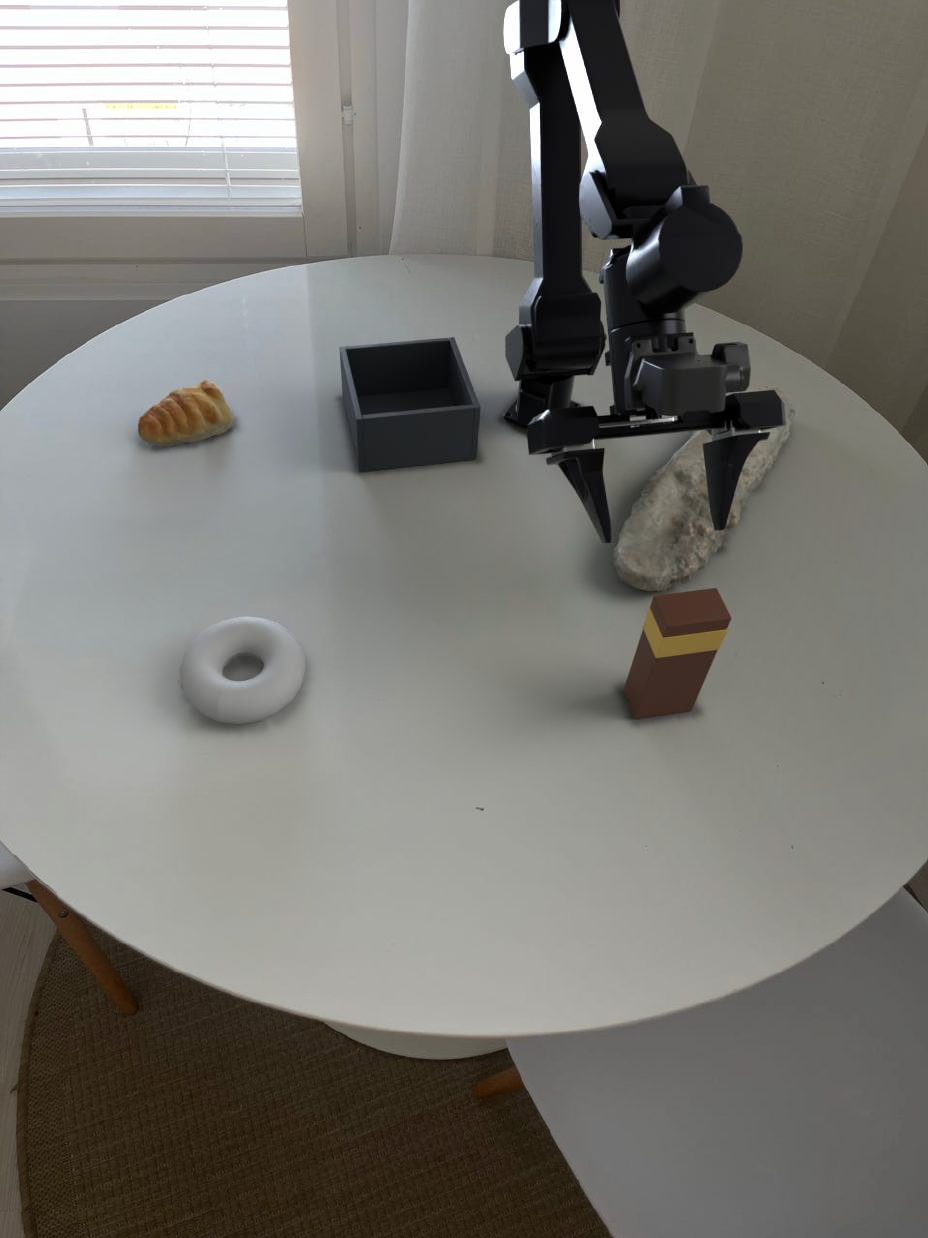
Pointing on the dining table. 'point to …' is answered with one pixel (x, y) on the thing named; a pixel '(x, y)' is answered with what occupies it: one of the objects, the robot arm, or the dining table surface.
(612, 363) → the robot arm
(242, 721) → the donut
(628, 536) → the long grey stone
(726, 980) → the dining table surface
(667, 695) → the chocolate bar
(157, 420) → the pastry
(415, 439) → the waste bin
